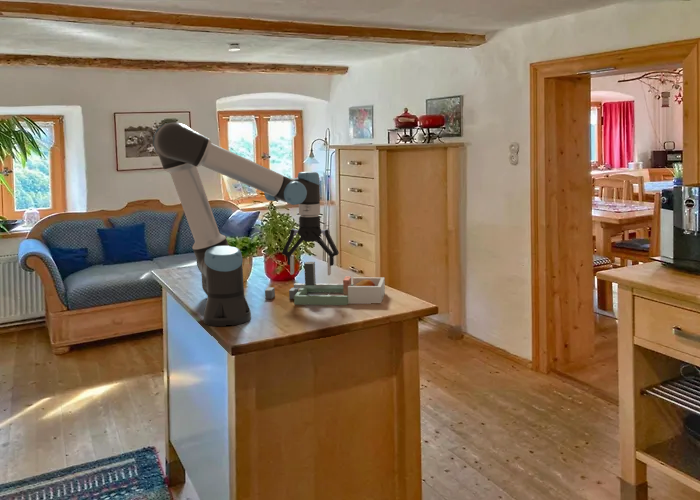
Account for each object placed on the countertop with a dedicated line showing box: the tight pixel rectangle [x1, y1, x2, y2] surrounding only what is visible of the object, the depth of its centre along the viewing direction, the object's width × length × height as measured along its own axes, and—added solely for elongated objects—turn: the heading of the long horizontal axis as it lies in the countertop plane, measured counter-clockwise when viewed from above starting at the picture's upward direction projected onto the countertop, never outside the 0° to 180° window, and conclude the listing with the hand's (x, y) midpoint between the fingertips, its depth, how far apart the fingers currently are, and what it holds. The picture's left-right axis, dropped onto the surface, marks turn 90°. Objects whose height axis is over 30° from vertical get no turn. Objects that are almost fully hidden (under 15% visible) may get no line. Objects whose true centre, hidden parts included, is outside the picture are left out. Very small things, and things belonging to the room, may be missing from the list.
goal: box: [348, 276, 386, 305], centre depth 228 cm, size 12×14×6 cm
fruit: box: [355, 280, 375, 286], centre depth 228 cm, size 8×8×8 cm
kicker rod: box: [293, 261, 352, 296], centre depth 230 cm, size 20×6×12 cm, turn 82°
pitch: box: [264, 283, 353, 306], centre depth 231 cm, size 31×18×3 cm, turn 82°
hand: (310, 274), depth 230 cm, fingers open, 13 cm apart
